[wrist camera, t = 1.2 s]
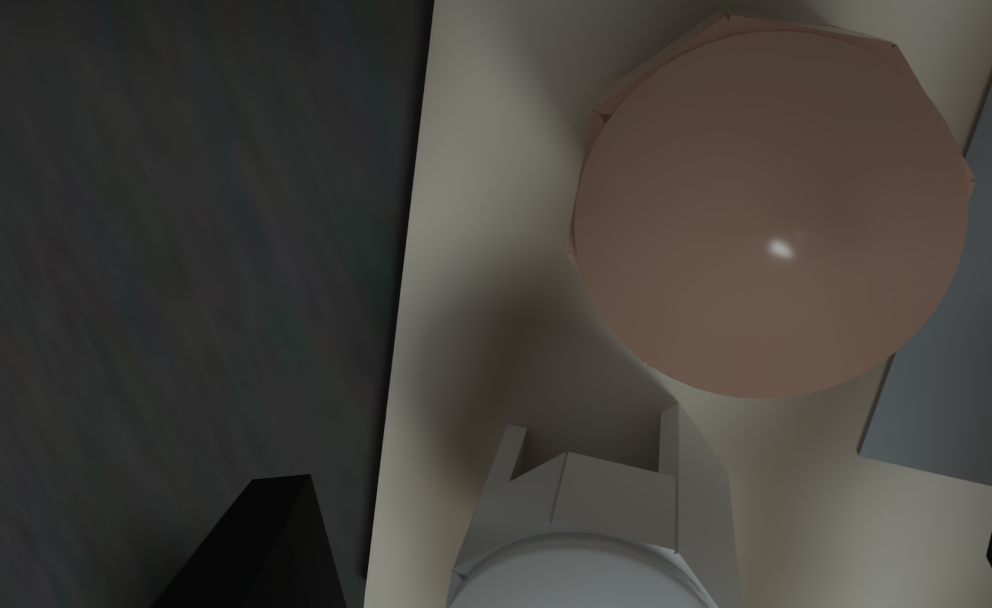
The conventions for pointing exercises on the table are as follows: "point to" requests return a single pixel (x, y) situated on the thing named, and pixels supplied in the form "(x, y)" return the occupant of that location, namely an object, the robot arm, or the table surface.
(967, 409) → the board
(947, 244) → the pink stool
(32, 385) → the table surface
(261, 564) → the robot arm
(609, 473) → the white round stool
